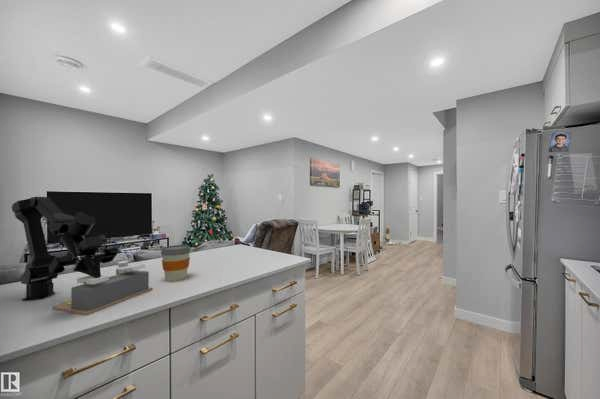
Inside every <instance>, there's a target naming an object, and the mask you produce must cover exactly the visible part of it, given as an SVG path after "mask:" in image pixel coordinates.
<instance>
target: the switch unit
mask: <svg viewBox="0 0 600 399" xmlns="http://www.w3.org/2000/svg"><path fill="white" fill-rule="evenodd" d="M149 274H150V273H149V271H145V270H139V269H138V270H135V271H131V272H128V273H122V274H119V275H116V274H115V275H112V276H109V280H106V281H103V282H99V283H96V284H84V283H81V284H80V285H77V286H73V287H70V288H71V289H70V290H71V294H70V295H71V296H70V299H71V300H69V301H66V302H64V303H61V304H57V305H54V306H52V308H51V309H52V310H54V311H60V312H66V313H71V314H76V315H81V316H89V315H91V314H93V313H96V312H99V311H102V310H104V309H107V308H109V307H112V306H114V305H116V304H119V303H123V302H124V301H127V300H130V299H132V298H135V297H138V296H140V295H143V294H146V293H148V292H150V291H152V290H153V287H151V286H150V285H149V280H150V279H149V278H150V277H149Z"/></svg>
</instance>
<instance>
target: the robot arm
mask: <svg viewBox="0 0 600 399" xmlns="http://www.w3.org/2000/svg"><path fill="white" fill-rule="evenodd" d="M11 211H12V212H13V213H14V216H15V219H17V220H18V221H20V222H21V223H22V224H23V228H24V233H25V238H26V242H27V247H28V252H29V257H30V258H29V259H28V261H27V263H26V265H25V270H24V272H23V274H22V275H21V276H20V282H21V284H23V285H26V288H25V290H26V293H25V296H26V297H24V298H22V299H21V300H22V301H28V300H30V301H31V300H42V299H44V298H47V297H49V296H51V295H52V296H53V294H56V291H54V282H53V279H57V278H58V275H59V274H60V273H64V271H65V269H66V268H65V267H69V266H73V267H74V268H73V272H79V273H82V274H85V275H86V276H89V275H90V276H92V277H95V278H99V277H100V276H101V275H102V274H101V263H102V264H106V263H107V264H108V263H111V262H113V261H114V259H115V258H116V256H118V254H119V252H120V250H119V249H118V248H117V247H107V248H103V250H102V252H100V253H99V252H98V251H99V250H100V249H99V248H100V247H101V246H104V245H105V244H107V242H108V239H107V236H105V234H101V235H98V236H89V237H85V236H86V235H89V233H90V231H91V230H92V228H93V227H94V225H95V224H96V220H97V219H96V217H94V216H92V215H90V214H87V213H85V211H84V212H83V211H80V212H77V211H76V213H75V216H73V215H71V214H66V213H64V212H63V210H61V209H60V208H59V207H58V206H57V205H56V204H55V203H54V201H53V200H52V198H51V197H48V196H33V197H32V196H31V197H30V198H27V199H22V200H21V199H20V200H17V201H16V202H14V203H13V204H12V205H11ZM43 217H44V218H45V219H46V220H47V221H48V226H47V227H48V229H49V231H50V232H51V234H52V235H54V236H55V235H57V236H58V235H61V236H60V238H59V239H60V240H59V243H58V244H59V245H60V246H62V245H64V247H65V248H66V250H67V253H66V255H60V256H56V255H54V254H53V255H51V254H50V253H49V251H48V250H49V249H48V247H47V246H48V245H47V242H46V238H45V233H44V229H43V228H44V227H43V223H42V219H43ZM97 252H98V253H97Z"/></svg>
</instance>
